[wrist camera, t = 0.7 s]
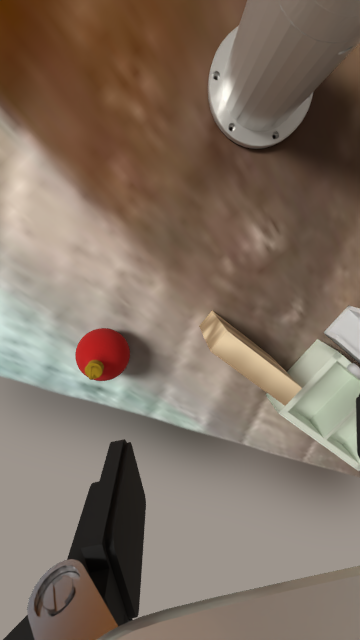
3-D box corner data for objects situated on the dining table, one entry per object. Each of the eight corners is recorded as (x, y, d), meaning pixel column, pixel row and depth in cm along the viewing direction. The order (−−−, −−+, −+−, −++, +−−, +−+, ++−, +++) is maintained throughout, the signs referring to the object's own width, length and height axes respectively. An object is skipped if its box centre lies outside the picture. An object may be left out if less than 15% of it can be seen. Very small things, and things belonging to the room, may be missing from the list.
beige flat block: (212, 310, 39) (227, 330, 30) (270, 355, 42) (302, 388, 32) (199, 326, 40) (210, 351, 30) (257, 370, 42) (285, 406, 33)
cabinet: (348, 305, 40) (380, 315, 34) (420, 370, 44) (461, 389, 38) (265, 394, 43) (281, 418, 37) (339, 448, 47) (364, 477, 41)
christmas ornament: (83, 321, 39) (56, 345, 29) (132, 323, 39) (122, 347, 29) (85, 366, 40) (60, 403, 31) (132, 367, 41) (122, 404, 31)
